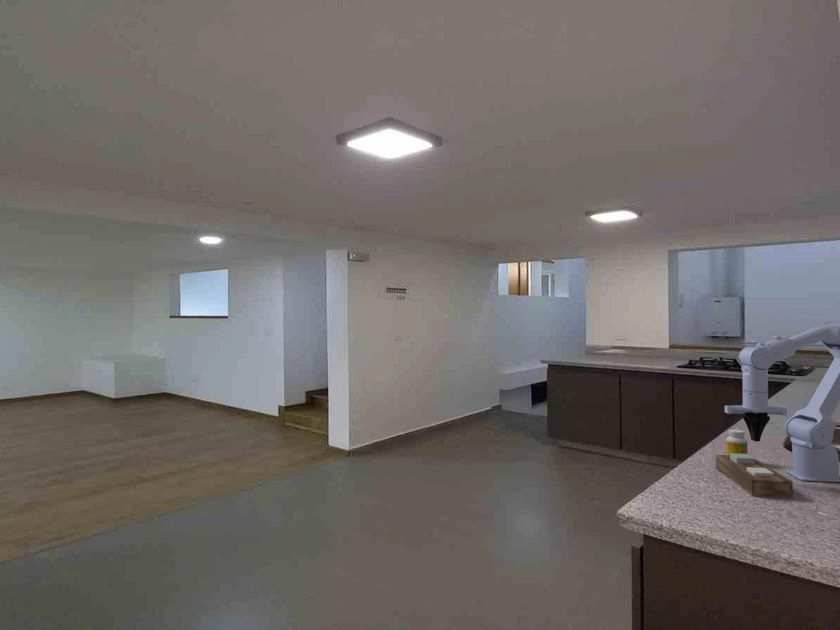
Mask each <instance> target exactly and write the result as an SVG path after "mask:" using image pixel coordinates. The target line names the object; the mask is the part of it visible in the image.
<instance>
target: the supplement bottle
mask: <svg viewBox="0 0 840 630" xmlns="http://www.w3.org/2000/svg"><path fill="white" fill-rule="evenodd" d="M728 435H729V436H727V437H726V440H725V441H726V455H730V454H748V455H749V451H748V449H749V448H748V440H747V438H746V437H745V431H744V430H741V429H728Z"/></svg>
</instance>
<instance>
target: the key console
mask: <svg viewBox="0 0 840 630" xmlns="http://www.w3.org/2000/svg"><path fill="white" fill-rule="evenodd" d="M746 467H752V468H766V469H768V470H769V471H771V472H772V473H774V476H754V475H752V474H751V473H749V472H748V471H747V469H746ZM715 469H716V470H718V472H720V473H722V475H724V476H725V477H727V478H728V479H730V481H732V482H733V483H735V484H736V485H737V486H738V487H740V488H741V489H742V490H744V491H745V492H746V493H748V494H749V495H750V496H751V497H767V498H768V497H769V498H772V497H773V498H789V499H790V498H791V499H793V498H794V490H793V489H794V486H793V485H794V484H793V482H794V481H793V480H791V479H789V478H788V477H786V476H785V475H783V474H781V473H779V472H778V471H776V470H774V469H773V468H771V467H770V466H768V465H766V464H764V463H763V462H762V461H760V460H758V459H756V458H755V464H736V463H734V462H733V461H731V460H730V455H727V454H715Z"/></svg>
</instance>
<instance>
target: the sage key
mask: <svg viewBox="0 0 840 630" xmlns="http://www.w3.org/2000/svg"><path fill="white" fill-rule="evenodd" d="M755 459H756V458H755V457H753V456H752V455H749V453H748V454H730V460H731V461H733V462H734V463H736V464H755Z"/></svg>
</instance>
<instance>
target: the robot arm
mask: <svg viewBox="0 0 840 630" xmlns="http://www.w3.org/2000/svg"><path fill="white" fill-rule="evenodd" d="M819 342H821V344H822V345H823V346H824V347H825V348H826V350H827V351H828V352H829V354H831V355H832V356H833V360H832V361H831V364H830V366H829V367H828V369H827V371H826V372H825V375H824V376H823V378H822V379H821V381H820V383H819V384H818V387H817V388H816V390H815V392H814V394H813V395H812V397H811V399H810V400H809V402H808V404H807V406H806V407H804V408H801V409H799V410H797V411H795V413H794V415H793V416H792V417H790V418H789V419H788V420H787V421H786V422H785V425H784V431H785V433H786V435H787V437H789V438H790V439H789V440H790V442H791V444H792V445H791V447H792V448H791V450H792V452H791V453H792V454H791V455H792V469H786V470H785V472H786V473H788V474H790V475H791V476H792V477H795V478H796V479H798V480H799V481H802V482H803V481H805V482H807V481H808V482H829V483H831V482H832V483H833V482H834V483H840V458H839V454H838V451H837V449H836V448H835V447H834V446H832V445H830V444H831V443H832V441H833V439H834V433H835V432H834V431H835V430H836V428H837V424H836V422H834V420H833V419H832V416H833V413H835V410H836V408H837V406H838V405H839V403H840V322H831V321H830V322H829V321H827V322H826V321H825V322H823V323H822V324H821V323H820V324H816V325H815V326H814V327H811V328H809V329H807V330H805V331H802V332H800V333H798V334H795V335H793V336H791V337H787V336H784V335H783V336H782V335H774V336H772V339H770V340H768V341H764V342H758V343H756V345H755V346H754V347H753V346H747V347H743V348H742V349H741V350H740V352H739V353H738V354H739V355H738V356H736V360H737V362H738V364H739V365H740V366H741V368H740V369H741V371H742V404H741V405H739V404H738V405H734V404H733V405H724V413H726V414H728V415H731V414H737V415H738V414H740V415H741V416H740V417H742V419H743V421H744V423H745V426H746V427H747V430H748V433H749V435H750V440H751V441H752V442H759V443H760V442H761V438H762V436H763V435H762V434H763V432H764V430H765V428H766V426H767V425H768V423H769V421H770V420H771V415H772V416H773V415H774V416H776V415H777V416H788V409H787V408H786V407H783V406H771V405H770V406H769V373H768V372H769V369H770V368H771V367H772V366H773V364H774V363H777V362H779V361H781V360H784V359H787V358H789V357H792V356H794V355H795V353H796V351H797V350H798V349H801V348H804V347H808V346H810V345H813V344H817V343H819ZM769 415H770V416H769Z"/></svg>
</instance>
